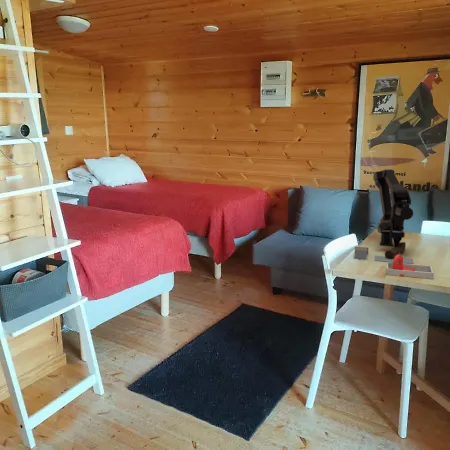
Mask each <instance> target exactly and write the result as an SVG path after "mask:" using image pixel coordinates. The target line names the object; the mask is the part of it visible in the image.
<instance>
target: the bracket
mask: <svg viewBox="0 0 450 450" xmlns="http://www.w3.org/2000/svg"><path fill="white" fill-rule="evenodd" d="M394 257H395V258H394V261H393V262H392V263H393V268H392V269H394V270H406V271H416V270H415V269H407V268H403V264H404V263H403V258H404V257H403V255H402V254H398V255H396V256H394ZM399 277H403V278H404V277H405V276H404V275H401V274H400V276H399Z"/></svg>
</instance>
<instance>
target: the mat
mask: <svg viewBox="0 0 450 450" xmlns="http://www.w3.org/2000/svg"><path fill="white" fill-rule="evenodd" d="M394 258H395V256H394ZM394 258H392V259H388V258H386V257H385V255H375V256H374V262H383V263H384V262H385V263H387V262H390V263H393V261H394ZM403 264H414V265H415V262H414V259H413V258H410V257H409V258H406V257H403Z"/></svg>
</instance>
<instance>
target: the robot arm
mask: <svg viewBox="0 0 450 450" xmlns="http://www.w3.org/2000/svg"><path fill="white" fill-rule="evenodd" d="M373 181H374V185H375V186H376V187H377V188H378V191H379V198H380V203H381V204H380V206H381V211H382V216H381V218H380V221H379V222H378V223H377V225H378V226H377V227H376V228H377V232H378V233H379V234H380V240H379V246H389V247H393V248H395V247H397V246H398V244H399V243H401V241H402V239H403V238H405V234H406V233H405V232H406V231H404V229H405V220H406V221H407V220H410V219H411V218H412V217H413V216H414V211H413V209H412V208H411V207H410V205H412V199H411V195H410V192H409V191H408V189H407V188H406V187H405V186H404V185H401V183H400V182H399V179H398V178H397V176H396V174H395V170H394V169H387V168H386V169H385V168H384V169H382V170H380V171H375V173H373Z"/></svg>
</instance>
